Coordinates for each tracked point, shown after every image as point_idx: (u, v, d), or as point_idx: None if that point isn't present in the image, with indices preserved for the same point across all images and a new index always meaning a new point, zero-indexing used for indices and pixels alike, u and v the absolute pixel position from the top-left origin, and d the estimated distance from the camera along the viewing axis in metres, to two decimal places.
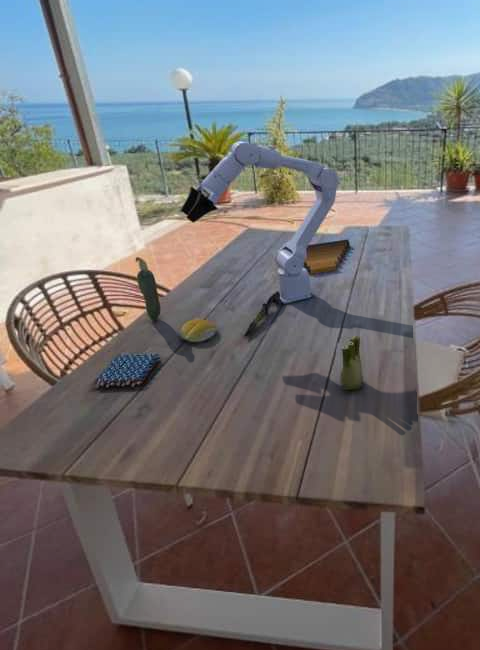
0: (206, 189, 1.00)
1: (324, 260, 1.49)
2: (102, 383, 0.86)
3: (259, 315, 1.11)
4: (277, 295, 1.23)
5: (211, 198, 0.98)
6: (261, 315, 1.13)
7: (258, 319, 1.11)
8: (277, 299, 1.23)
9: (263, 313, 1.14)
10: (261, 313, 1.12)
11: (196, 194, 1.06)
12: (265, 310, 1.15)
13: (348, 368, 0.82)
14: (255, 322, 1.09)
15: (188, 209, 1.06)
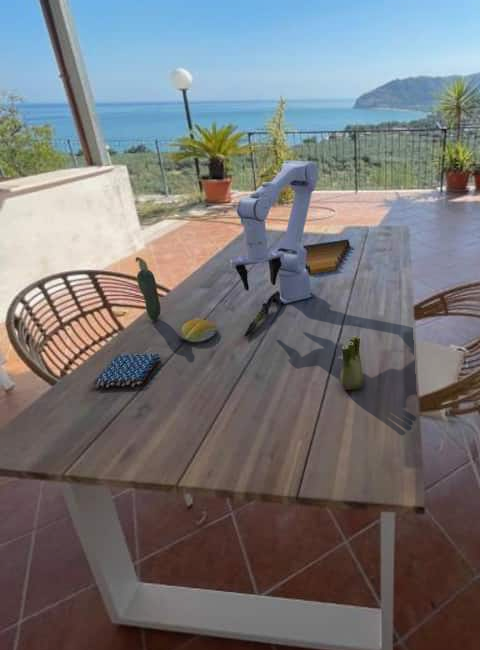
0: (272, 257, 1.08)
1: (324, 260, 1.49)
2: (102, 383, 0.86)
3: (259, 315, 1.11)
4: (277, 295, 1.23)
5: None
6: (261, 315, 1.13)
7: (258, 319, 1.11)
8: (277, 299, 1.23)
9: (263, 313, 1.14)
10: (261, 313, 1.12)
11: None
12: (265, 310, 1.15)
13: (348, 368, 0.82)
14: (255, 322, 1.09)
15: None
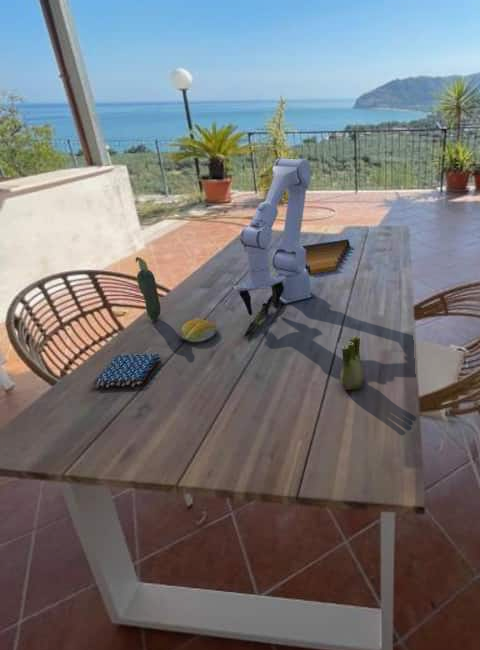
0: (274, 283, 1.11)
1: (324, 260, 1.49)
2: (102, 383, 0.86)
3: (259, 315, 1.11)
4: None
5: None
6: (261, 315, 1.13)
7: (258, 319, 1.11)
8: None
9: (263, 313, 1.14)
10: (261, 313, 1.12)
11: None
12: (265, 310, 1.15)
13: (348, 368, 0.82)
14: (255, 322, 1.09)
15: None
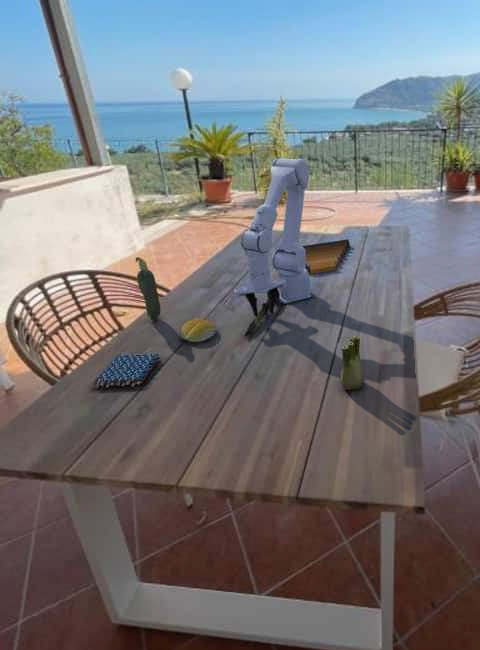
0: (275, 286, 1.11)
1: (324, 260, 1.49)
2: (102, 383, 0.86)
3: (259, 315, 1.11)
4: None
5: None
6: (261, 315, 1.13)
7: (258, 319, 1.11)
8: (277, 299, 1.23)
9: (263, 313, 1.14)
10: (261, 313, 1.12)
11: None
12: (265, 310, 1.15)
13: (348, 368, 0.82)
14: (255, 322, 1.09)
15: None
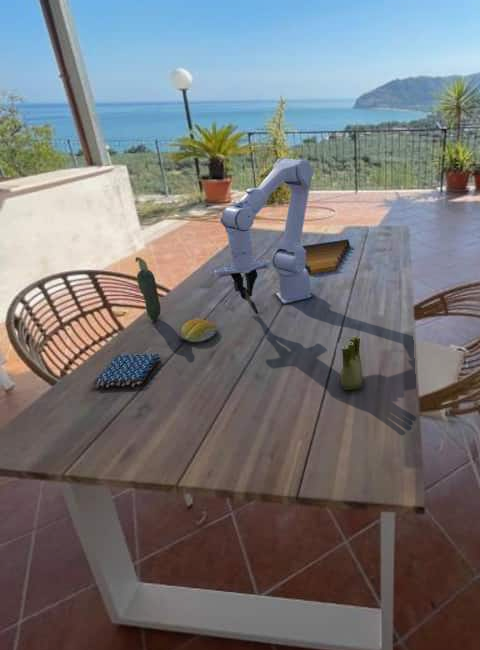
0: (257, 266, 1.07)
1: (324, 260, 1.49)
2: (102, 383, 0.86)
3: (249, 297, 1.08)
4: None
5: None
6: None
7: None
8: None
9: None
10: None
11: None
12: None
13: (348, 368, 0.82)
14: None
15: None
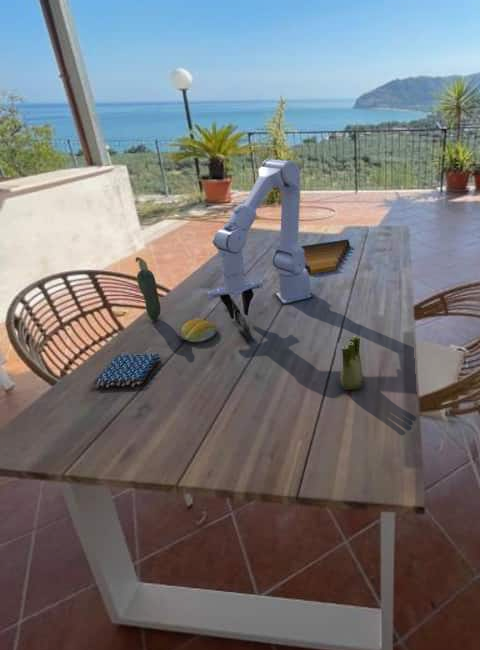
0: (250, 287, 1.07)
1: (324, 260, 1.49)
2: (102, 383, 0.86)
3: None
4: None
5: None
6: None
7: None
8: None
9: None
10: None
11: None
12: None
13: (348, 368, 0.82)
14: None
15: None
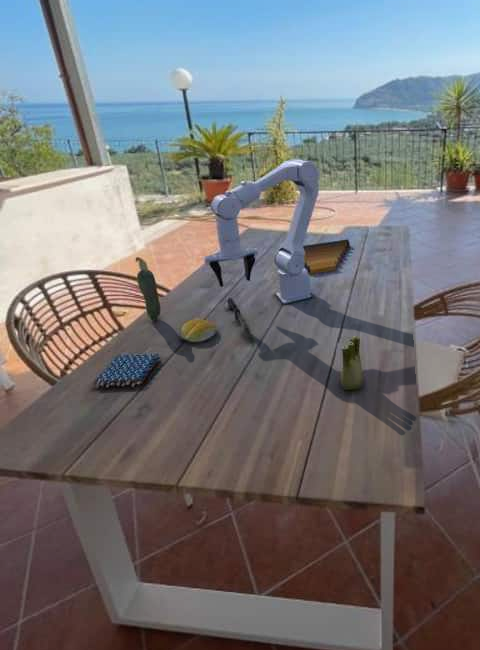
0: (245, 254, 1.10)
1: (324, 260, 1.49)
2: (102, 383, 0.86)
3: None
4: None
5: None
6: None
7: None
8: None
9: None
10: None
11: None
12: None
13: (348, 368, 0.82)
14: None
15: None
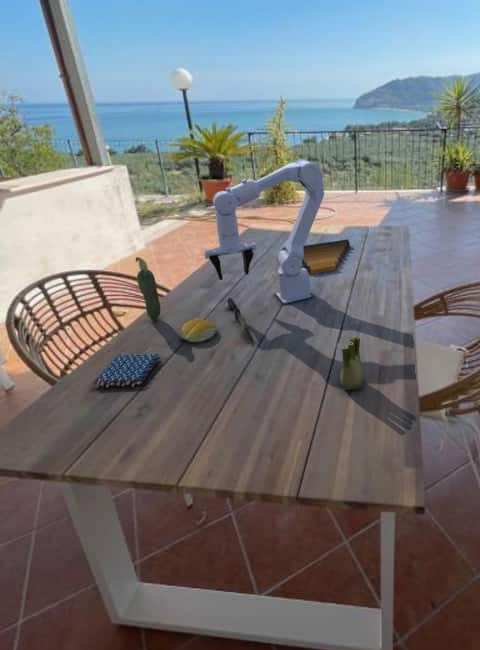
0: (244, 248, 1.14)
1: (324, 260, 1.49)
2: (102, 383, 0.86)
3: None
4: None
5: None
6: None
7: None
8: None
9: None
10: None
11: None
12: None
13: (348, 368, 0.82)
14: None
15: None
